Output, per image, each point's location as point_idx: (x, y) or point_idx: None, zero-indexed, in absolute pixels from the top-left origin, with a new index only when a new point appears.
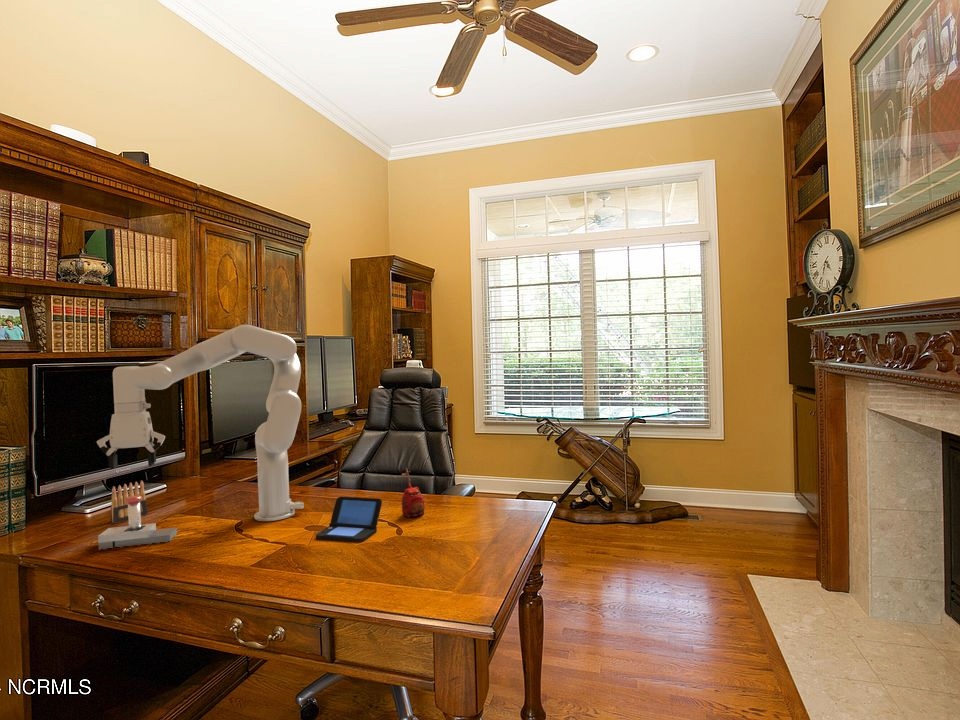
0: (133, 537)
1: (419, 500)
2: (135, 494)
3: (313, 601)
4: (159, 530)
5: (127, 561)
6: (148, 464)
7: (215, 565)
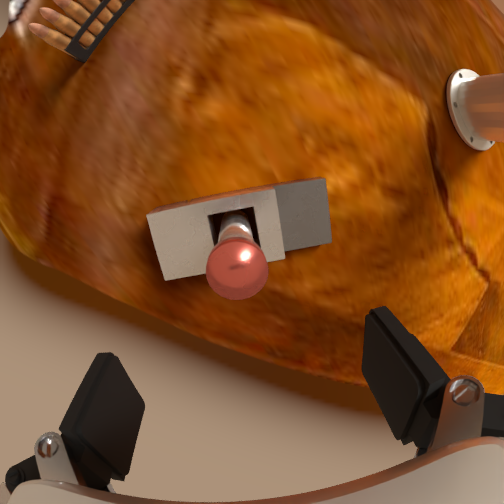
0: None
1: None
2: None
3: None
4: (285, 195)
5: (284, 336)
6: (366, 377)
7: None
